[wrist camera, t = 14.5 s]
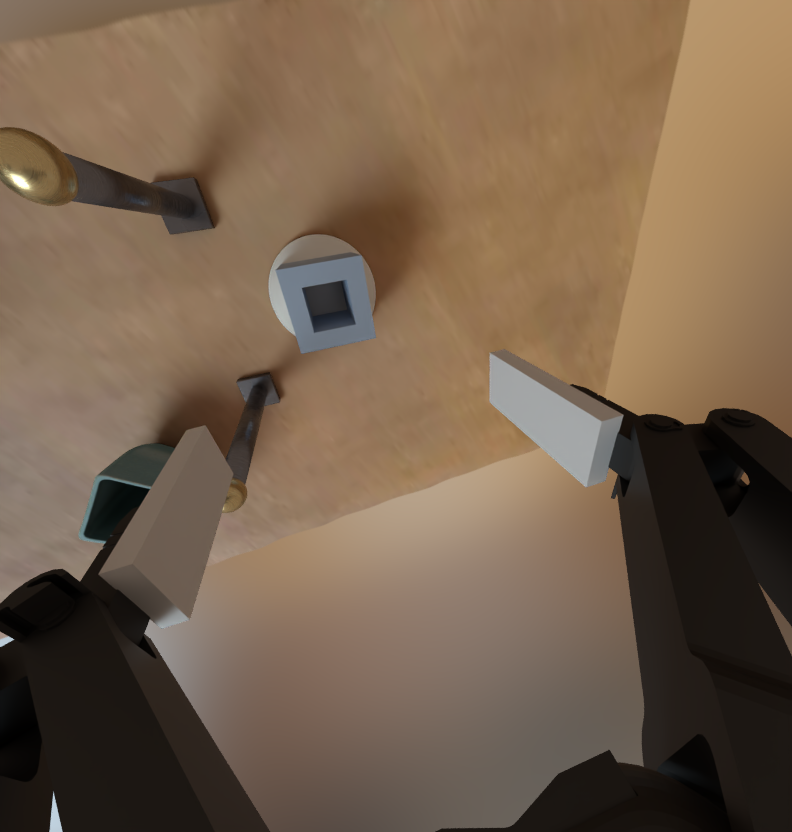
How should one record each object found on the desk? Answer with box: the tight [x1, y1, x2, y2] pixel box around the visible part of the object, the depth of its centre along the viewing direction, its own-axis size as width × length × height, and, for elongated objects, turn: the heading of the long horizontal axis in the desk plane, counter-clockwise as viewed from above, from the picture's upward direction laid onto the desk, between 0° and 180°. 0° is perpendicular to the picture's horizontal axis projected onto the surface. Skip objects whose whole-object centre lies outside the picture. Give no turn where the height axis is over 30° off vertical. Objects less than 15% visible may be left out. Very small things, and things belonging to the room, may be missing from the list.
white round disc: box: [269, 234, 376, 336], centre depth 33 cm, size 11×11×1 cm
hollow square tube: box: [275, 252, 376, 354], centre depth 30 cm, size 7×7×7 cm
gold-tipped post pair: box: [0, 127, 280, 513], centre depth 24 cm, size 4×22×19 cm, turn 8°
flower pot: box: [79, 443, 175, 544], centre depth 35 cm, size 9×9×9 cm
